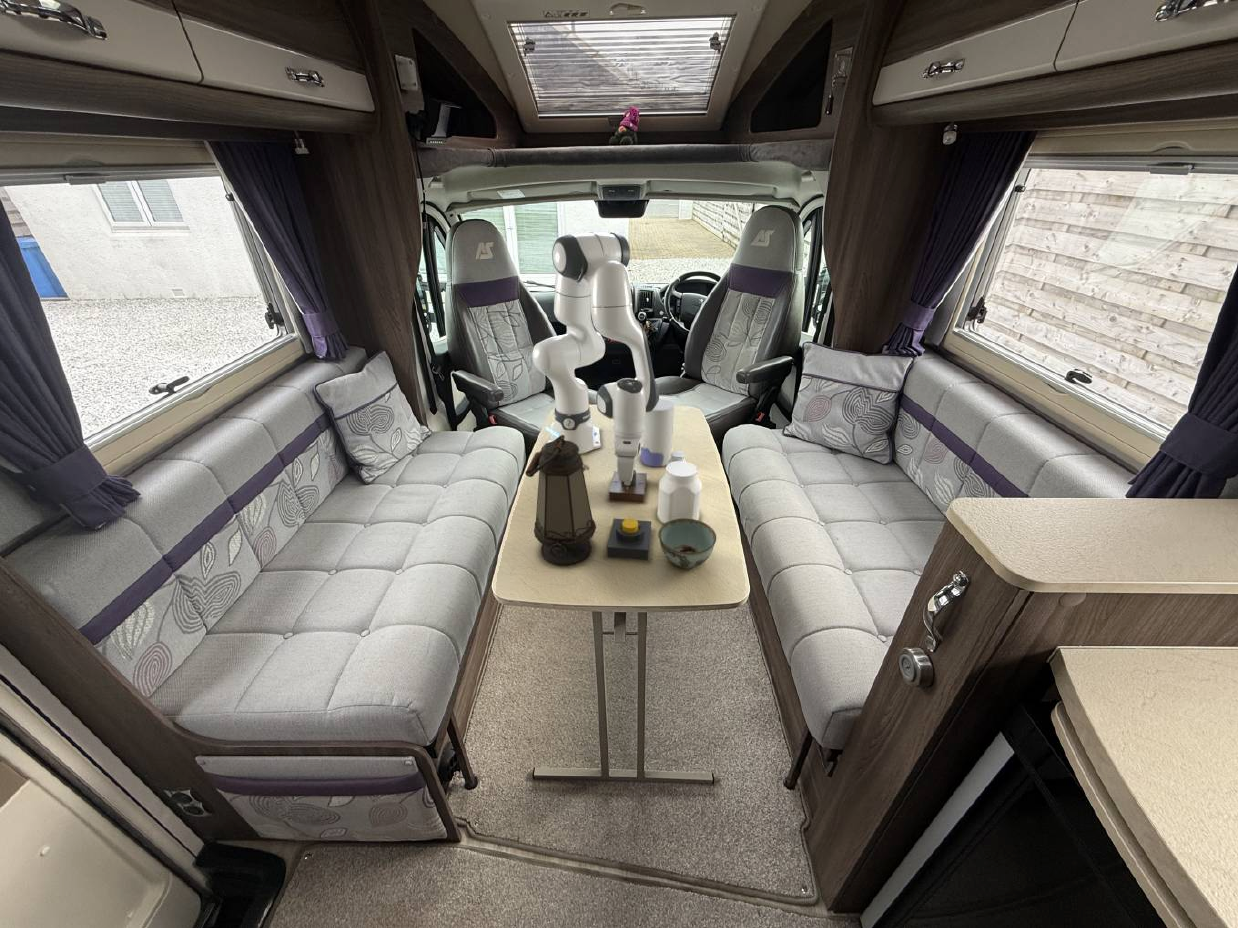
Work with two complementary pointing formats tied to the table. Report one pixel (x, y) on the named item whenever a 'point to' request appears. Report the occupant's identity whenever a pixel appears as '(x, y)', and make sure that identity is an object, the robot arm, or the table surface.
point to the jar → (679, 492)
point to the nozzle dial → (632, 479)
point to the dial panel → (628, 489)
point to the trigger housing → (629, 541)
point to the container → (658, 434)
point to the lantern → (562, 504)
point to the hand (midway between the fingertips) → (628, 479)
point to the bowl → (686, 542)
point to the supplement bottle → (677, 456)
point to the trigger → (630, 526)
